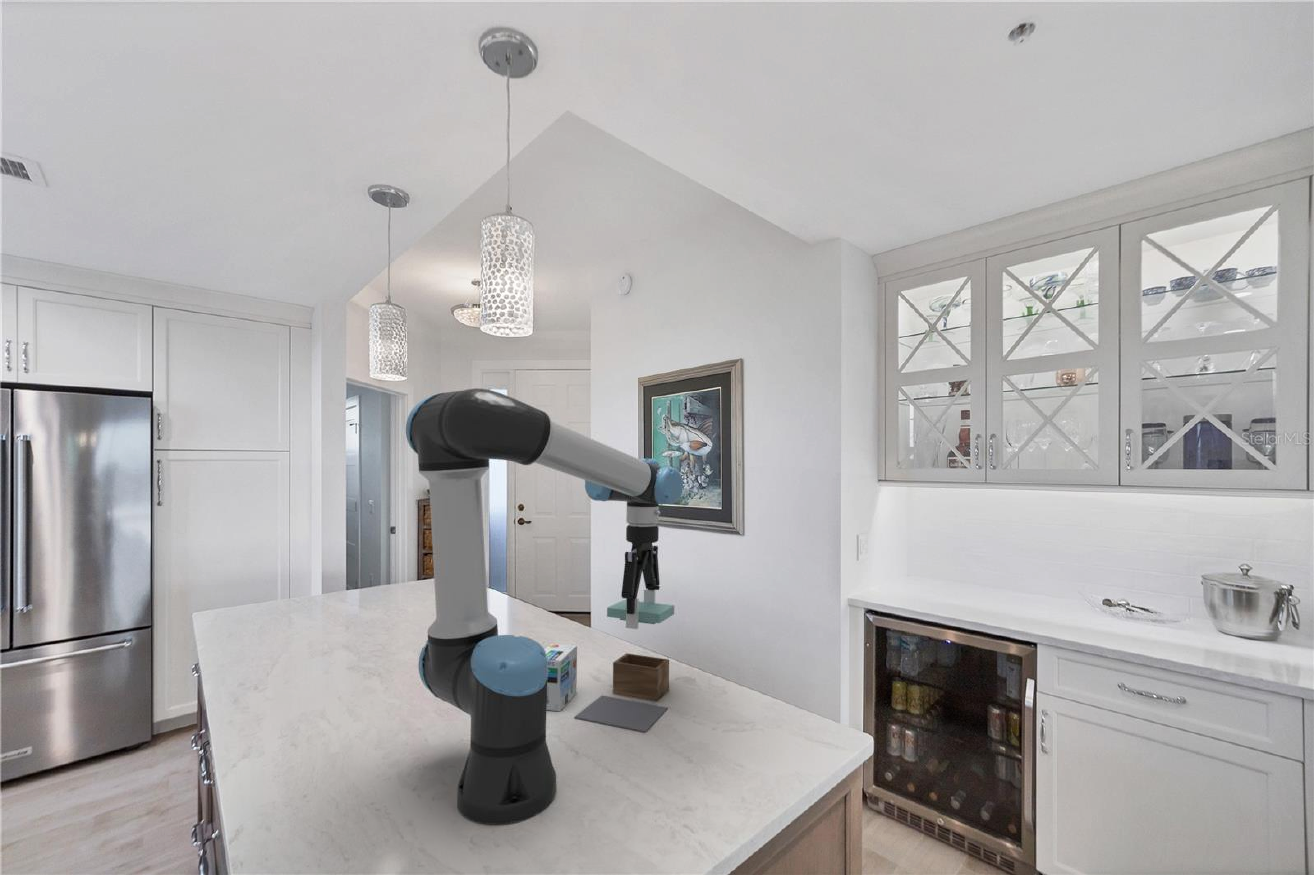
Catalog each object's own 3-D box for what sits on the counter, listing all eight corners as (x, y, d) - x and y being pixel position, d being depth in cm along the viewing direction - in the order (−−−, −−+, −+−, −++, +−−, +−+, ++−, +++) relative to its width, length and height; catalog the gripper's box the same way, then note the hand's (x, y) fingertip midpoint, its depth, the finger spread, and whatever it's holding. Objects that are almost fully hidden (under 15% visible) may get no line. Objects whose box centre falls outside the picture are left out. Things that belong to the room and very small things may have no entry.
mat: (645, 732, 112) (645, 731, 112) (574, 718, 118) (574, 716, 118) (668, 708, 123) (668, 707, 123) (601, 696, 129) (601, 695, 129)
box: (657, 701, 127) (657, 669, 127) (612, 693, 131) (613, 662, 131) (668, 690, 133) (669, 659, 134) (626, 683, 138) (626, 653, 138)
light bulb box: (560, 712, 121) (561, 660, 122) (530, 709, 123) (531, 658, 123) (577, 692, 132) (578, 645, 132) (549, 690, 133) (550, 643, 133)
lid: (659, 628, 126) (659, 614, 126) (606, 621, 131) (607, 607, 131) (674, 618, 134) (674, 605, 135) (624, 612, 139) (624, 599, 140)
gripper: (637, 529, 122) (636, 637, 121) (674, 521, 143) (672, 614, 141) (606, 528, 125) (604, 632, 124) (646, 520, 145) (644, 610, 144)
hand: (640, 622), depth 133 cm, fingers closed on lid, 9 cm apart
